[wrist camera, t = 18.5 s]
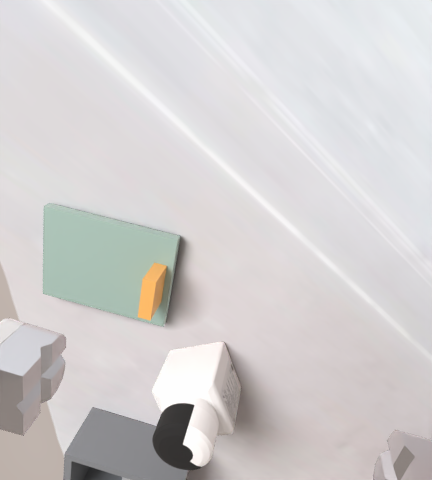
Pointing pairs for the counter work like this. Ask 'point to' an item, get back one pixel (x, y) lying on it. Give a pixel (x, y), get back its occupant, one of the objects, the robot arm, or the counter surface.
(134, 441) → the tub
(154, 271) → the lid
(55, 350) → the robot arm
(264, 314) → the counter surface
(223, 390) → the container
